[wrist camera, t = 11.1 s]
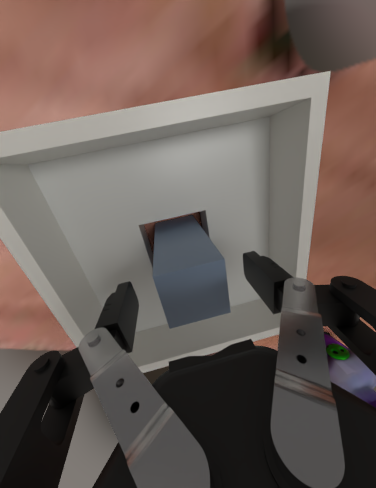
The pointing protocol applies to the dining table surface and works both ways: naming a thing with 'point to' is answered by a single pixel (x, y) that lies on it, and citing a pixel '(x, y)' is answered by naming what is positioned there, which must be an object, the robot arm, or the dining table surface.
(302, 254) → the walled box
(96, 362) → the robot arm
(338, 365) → the potion bottle
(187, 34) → the dining table surface
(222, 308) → the peg
